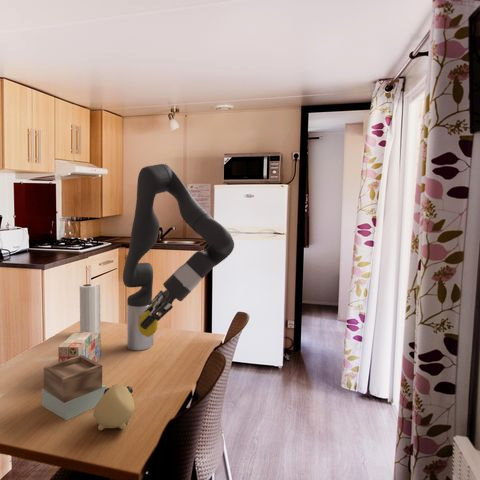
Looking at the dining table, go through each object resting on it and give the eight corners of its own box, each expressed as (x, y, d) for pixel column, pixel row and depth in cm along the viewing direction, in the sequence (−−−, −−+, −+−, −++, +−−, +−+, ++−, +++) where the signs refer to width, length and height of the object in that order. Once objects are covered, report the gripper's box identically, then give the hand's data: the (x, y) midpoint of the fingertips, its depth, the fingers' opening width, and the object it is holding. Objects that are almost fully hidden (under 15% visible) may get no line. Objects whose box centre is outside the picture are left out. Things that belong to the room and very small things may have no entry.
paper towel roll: (77, 336, 158) (76, 286, 156) (85, 331, 164) (84, 283, 162) (93, 337, 157) (92, 287, 155) (100, 332, 163) (100, 284, 161)
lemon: (140, 341, 107) (140, 314, 106) (136, 335, 112) (136, 309, 111) (159, 339, 109) (160, 312, 109) (154, 332, 114) (154, 307, 113)
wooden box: (81, 375, 113) (81, 354, 113) (102, 387, 107) (102, 365, 106) (44, 389, 105) (43, 366, 104) (64, 403, 98) (63, 379, 97)
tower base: (81, 389, 115) (81, 374, 114) (106, 402, 108) (105, 385, 108) (42, 406, 105) (41, 389, 105) (66, 421, 98) (66, 403, 98)
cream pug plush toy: (138, 411, 104) (138, 373, 103) (130, 438, 92) (130, 396, 91) (101, 412, 103) (101, 374, 102) (88, 439, 91) (88, 397, 90)
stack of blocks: (84, 356, 139) (83, 323, 137) (101, 356, 139) (101, 324, 138) (58, 384, 117) (57, 346, 116) (78, 384, 118) (78, 346, 116)
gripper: (170, 268, 118) (131, 308, 115) (177, 278, 104) (133, 323, 102) (187, 284, 120) (148, 324, 117) (196, 296, 106) (153, 340, 104)
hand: (141, 323), depth 110 cm, fingers closed on lemon, 5 cm apart
